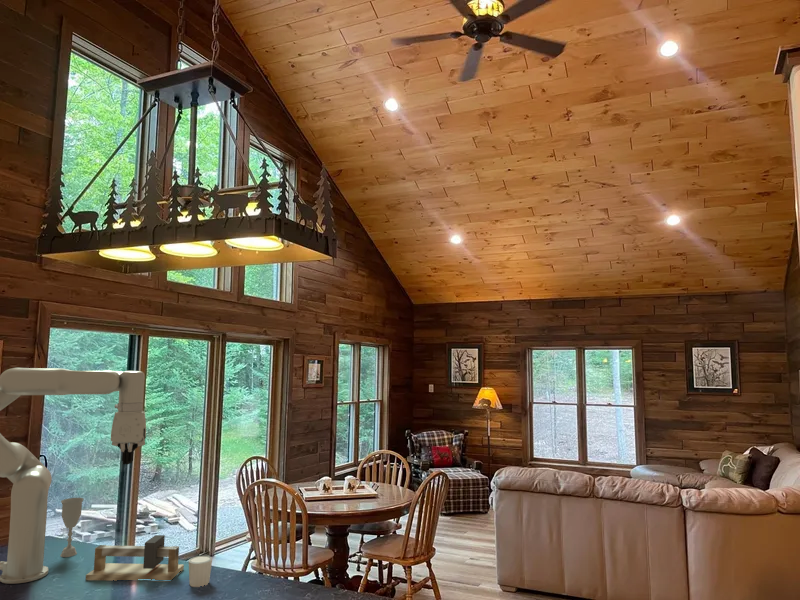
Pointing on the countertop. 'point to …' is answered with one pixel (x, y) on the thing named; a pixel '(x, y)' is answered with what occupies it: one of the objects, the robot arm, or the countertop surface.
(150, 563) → the collar
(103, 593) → the countertop surface
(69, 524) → the chalice
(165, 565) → the pipe rig
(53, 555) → the countertop surface
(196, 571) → the cream short cylinder
